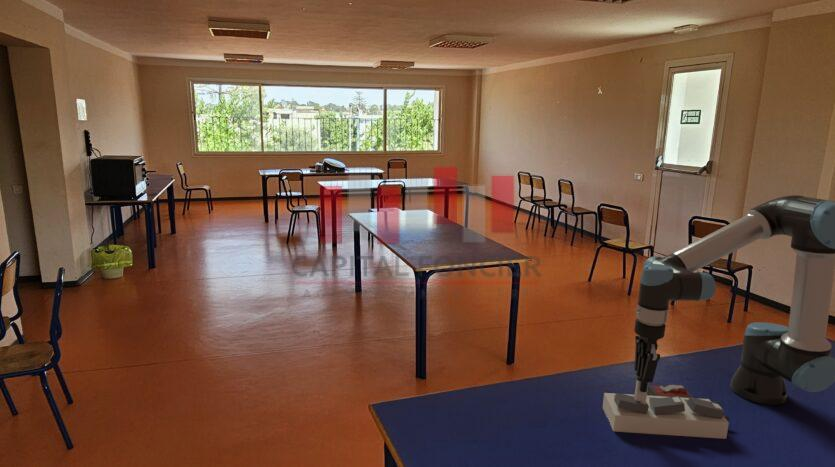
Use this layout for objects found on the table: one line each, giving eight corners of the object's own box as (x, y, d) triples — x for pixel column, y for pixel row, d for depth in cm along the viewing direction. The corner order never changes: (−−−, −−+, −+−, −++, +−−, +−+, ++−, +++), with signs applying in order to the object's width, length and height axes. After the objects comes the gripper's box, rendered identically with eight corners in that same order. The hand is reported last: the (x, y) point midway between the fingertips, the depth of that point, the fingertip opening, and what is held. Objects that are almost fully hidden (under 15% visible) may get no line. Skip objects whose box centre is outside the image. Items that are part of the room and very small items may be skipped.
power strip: (717, 415, 152) (719, 399, 151) (737, 439, 141) (740, 422, 140) (602, 407, 156) (604, 392, 154) (613, 431, 144) (615, 414, 143)
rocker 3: (715, 411, 145) (718, 403, 145) (721, 419, 142) (725, 410, 141) (686, 404, 146) (690, 396, 145) (692, 411, 142) (696, 403, 141)
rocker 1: (641, 406, 147) (644, 398, 147) (646, 413, 143) (649, 405, 143) (613, 400, 148) (616, 392, 147) (617, 407, 144) (620, 399, 143)
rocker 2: (679, 403, 146) (678, 395, 145) (685, 411, 142) (684, 402, 142) (650, 407, 147) (649, 398, 147) (654, 414, 143) (653, 406, 143)
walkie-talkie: (654, 408, 156) (720, 409, 156) (656, 395, 155) (722, 396, 155) (642, 393, 165) (704, 394, 165) (643, 380, 164) (706, 381, 164)
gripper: (629, 311, 146) (619, 387, 151) (644, 329, 133) (633, 411, 139) (656, 313, 146) (645, 389, 151) (674, 331, 133) (662, 413, 138)
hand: (639, 399), depth 145 cm, fingers closed
